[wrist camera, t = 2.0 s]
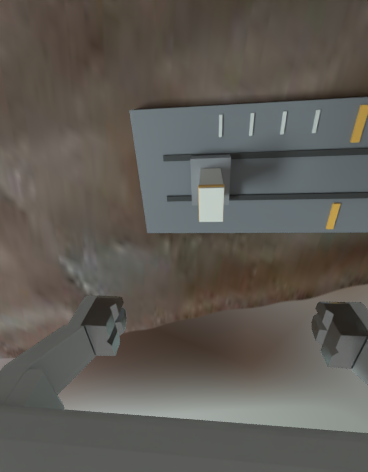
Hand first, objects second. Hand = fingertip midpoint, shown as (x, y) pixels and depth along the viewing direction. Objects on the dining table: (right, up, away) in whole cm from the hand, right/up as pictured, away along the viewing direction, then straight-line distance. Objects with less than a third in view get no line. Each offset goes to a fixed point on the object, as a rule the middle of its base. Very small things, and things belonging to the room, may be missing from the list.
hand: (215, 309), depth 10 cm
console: (+9, +11, +17) cm, 22 cm away
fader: (+2, +9, +16) cm, 19 cm away
